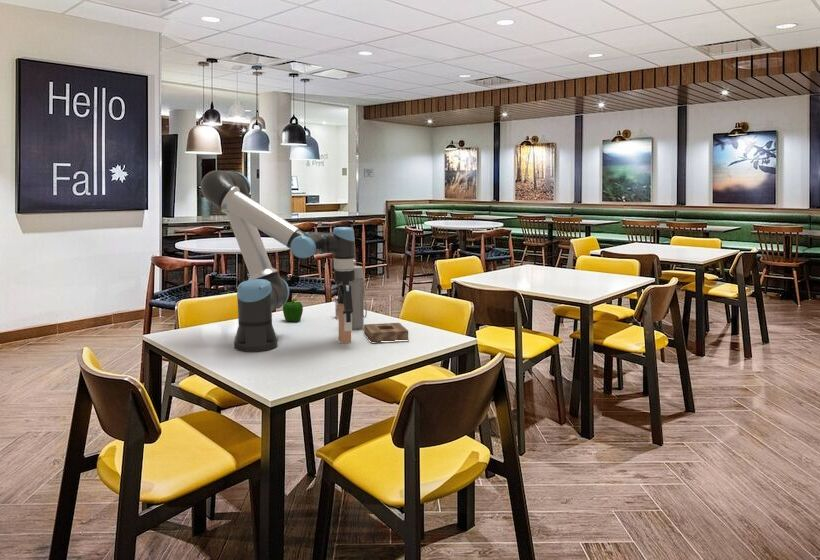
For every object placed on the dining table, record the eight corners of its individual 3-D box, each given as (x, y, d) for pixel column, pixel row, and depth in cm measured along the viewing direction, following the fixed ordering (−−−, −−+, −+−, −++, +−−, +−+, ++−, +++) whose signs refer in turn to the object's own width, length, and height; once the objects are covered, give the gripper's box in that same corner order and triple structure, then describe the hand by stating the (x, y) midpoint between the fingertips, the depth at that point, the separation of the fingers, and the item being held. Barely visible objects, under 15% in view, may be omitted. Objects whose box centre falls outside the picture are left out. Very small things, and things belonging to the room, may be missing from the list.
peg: (340, 343, 228) (340, 305, 226) (338, 340, 232) (338, 303, 229) (351, 342, 229) (350, 305, 227) (349, 339, 233) (349, 303, 231)
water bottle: (341, 328, 250) (341, 267, 246) (352, 325, 257) (352, 265, 253) (361, 331, 246) (360, 269, 242) (371, 327, 253) (371, 266, 249)
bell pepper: (282, 319, 266) (281, 296, 265) (301, 318, 269) (301, 295, 267) (284, 323, 258) (283, 300, 257) (304, 322, 261) (303, 299, 259)
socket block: (371, 343, 228) (371, 332, 227) (364, 334, 241) (364, 324, 241) (408, 341, 231) (408, 330, 231) (399, 332, 245) (399, 322, 244)
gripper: (360, 274, 215) (361, 333, 218) (349, 265, 239) (349, 318, 242) (339, 274, 213) (340, 335, 216) (329, 265, 237) (330, 320, 240)
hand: (345, 326), depth 229 cm, fingers open, 13 cm apart
